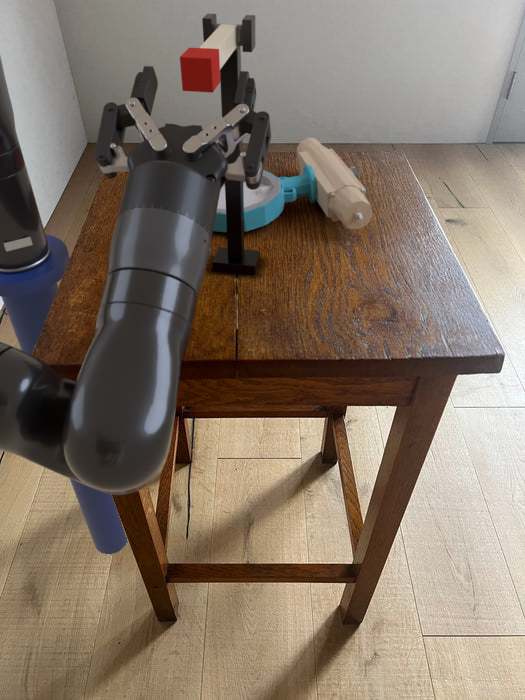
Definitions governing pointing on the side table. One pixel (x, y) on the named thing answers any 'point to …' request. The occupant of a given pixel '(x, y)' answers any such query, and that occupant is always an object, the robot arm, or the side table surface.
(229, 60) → the lever post
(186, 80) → the lever
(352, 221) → the butterfly valve
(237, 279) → the side table surface
